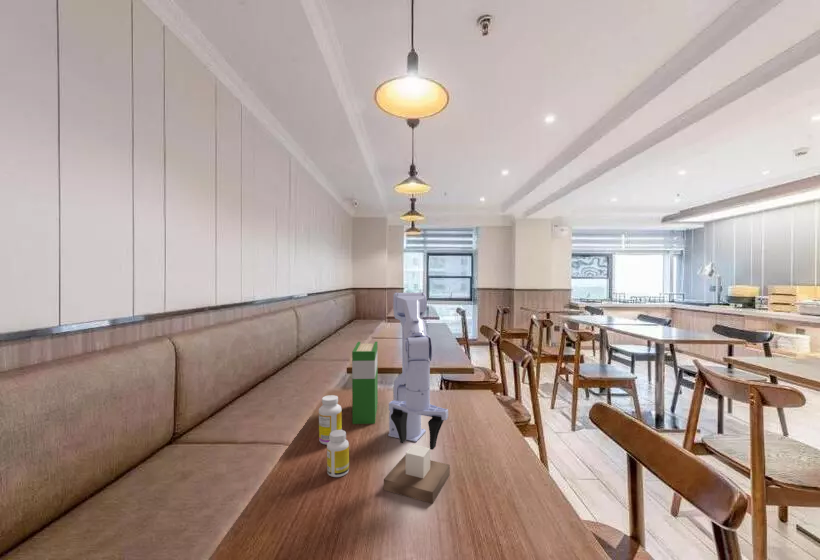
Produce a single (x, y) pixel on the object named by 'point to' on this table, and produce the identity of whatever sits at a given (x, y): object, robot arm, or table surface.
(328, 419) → the supplement bottle
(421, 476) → the cream block
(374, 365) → the hardback book
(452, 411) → the table surface
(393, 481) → the walnut block
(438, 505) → the table surface
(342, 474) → the supplement bottle
